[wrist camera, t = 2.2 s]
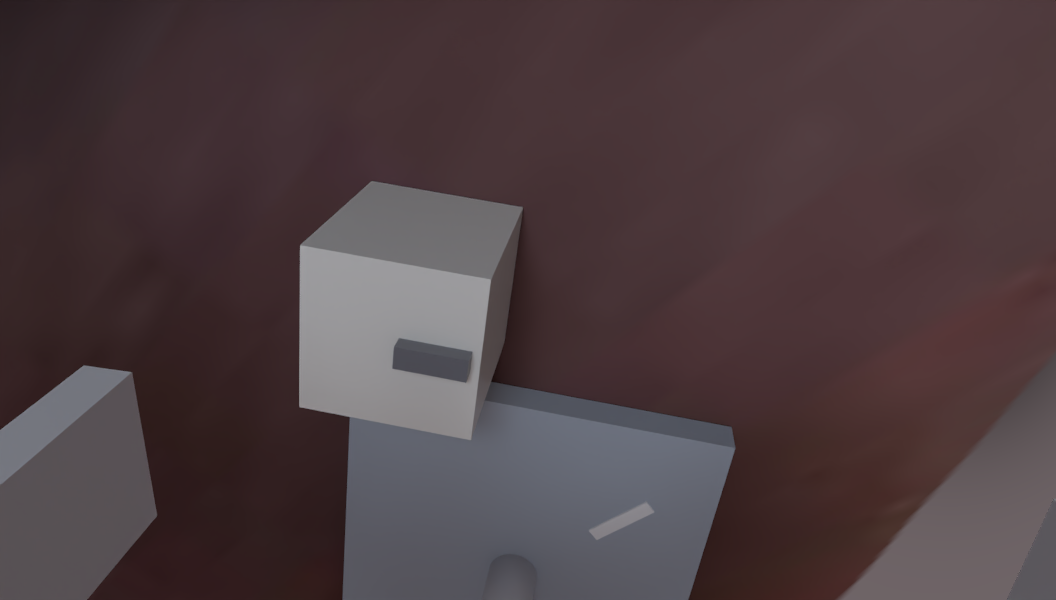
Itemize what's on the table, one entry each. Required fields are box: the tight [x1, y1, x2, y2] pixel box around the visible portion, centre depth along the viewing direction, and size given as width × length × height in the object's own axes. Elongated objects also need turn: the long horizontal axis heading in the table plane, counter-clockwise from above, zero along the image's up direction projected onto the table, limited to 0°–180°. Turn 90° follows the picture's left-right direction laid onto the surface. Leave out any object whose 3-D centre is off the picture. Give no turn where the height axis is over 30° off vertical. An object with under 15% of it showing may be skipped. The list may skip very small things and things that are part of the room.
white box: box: [299, 181, 523, 440], centre depth 28 cm, size 6×6×8 cm
